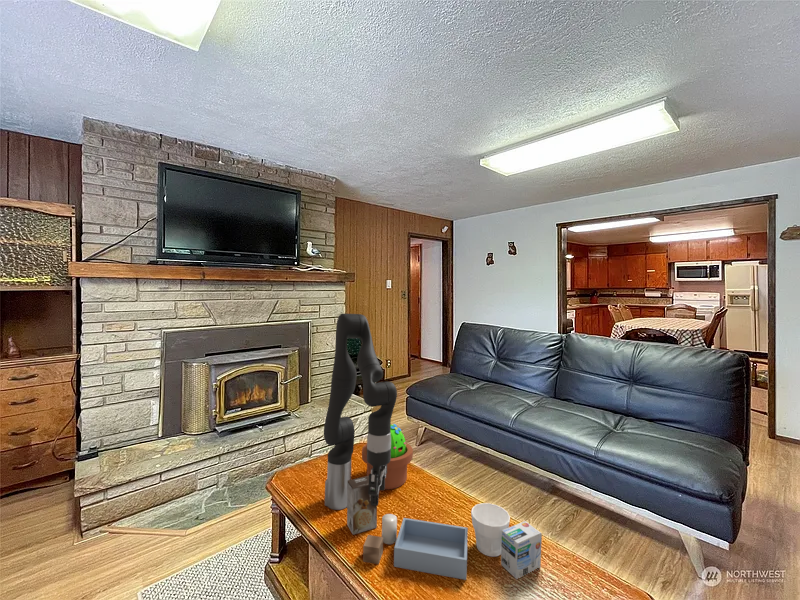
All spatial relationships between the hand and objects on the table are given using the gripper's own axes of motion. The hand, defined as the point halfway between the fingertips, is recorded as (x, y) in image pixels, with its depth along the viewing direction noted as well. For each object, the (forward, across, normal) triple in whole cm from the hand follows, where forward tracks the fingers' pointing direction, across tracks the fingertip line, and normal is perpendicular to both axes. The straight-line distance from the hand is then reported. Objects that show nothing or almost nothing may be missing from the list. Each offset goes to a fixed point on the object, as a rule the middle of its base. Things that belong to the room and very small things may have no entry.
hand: (377, 497), depth 110 cm
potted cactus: (+19, -45, -7) cm, 49 cm away
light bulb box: (+19, -5, +44) cm, 48 cm away
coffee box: (+19, -12, -9) cm, 24 cm away
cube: (+19, +1, -1) cm, 19 cm away
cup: (+19, -12, +35) cm, 42 cm away
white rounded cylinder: (+18, -8, +2) cm, 20 cm away
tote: (+18, -4, +17) cm, 25 cm away
